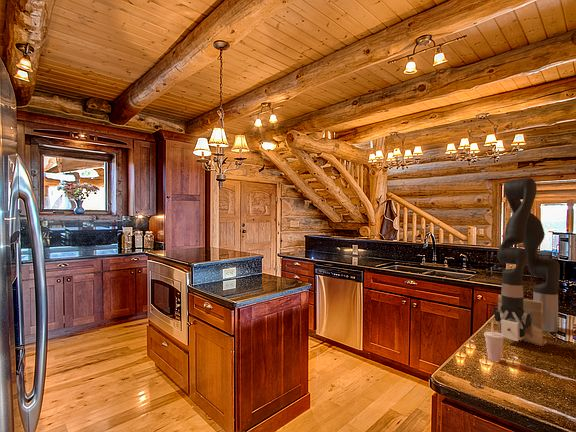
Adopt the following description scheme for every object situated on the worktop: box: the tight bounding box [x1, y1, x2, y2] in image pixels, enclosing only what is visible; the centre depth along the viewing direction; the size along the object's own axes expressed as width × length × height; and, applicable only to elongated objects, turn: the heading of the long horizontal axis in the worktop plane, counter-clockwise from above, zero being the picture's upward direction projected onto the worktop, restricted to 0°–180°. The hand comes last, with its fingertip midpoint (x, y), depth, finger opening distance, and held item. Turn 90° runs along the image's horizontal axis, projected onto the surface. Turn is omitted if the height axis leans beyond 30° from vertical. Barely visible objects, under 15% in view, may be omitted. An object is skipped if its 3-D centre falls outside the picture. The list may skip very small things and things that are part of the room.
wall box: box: [501, 318, 524, 342], centre depth 136 cm, size 9×6×7 cm
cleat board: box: [497, 294, 548, 347], centre depth 140 cm, size 8×16×18 cm, turn 34°
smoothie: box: [484, 321, 505, 362], centre depth 120 cm, size 6×6×14 cm
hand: (512, 334), depth 135 cm, fingers closed on wall box, 6 cm apart
